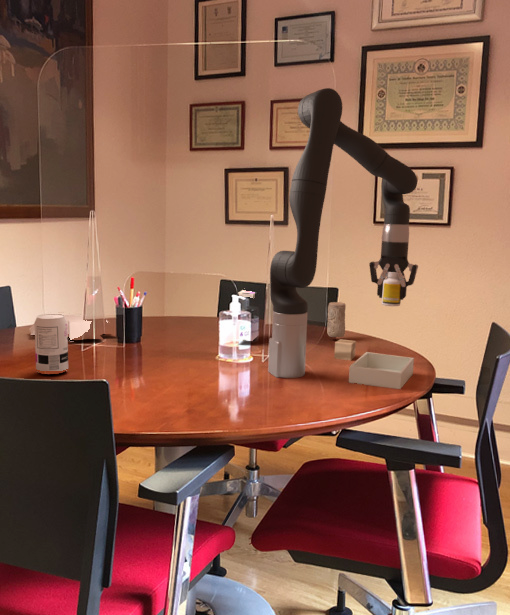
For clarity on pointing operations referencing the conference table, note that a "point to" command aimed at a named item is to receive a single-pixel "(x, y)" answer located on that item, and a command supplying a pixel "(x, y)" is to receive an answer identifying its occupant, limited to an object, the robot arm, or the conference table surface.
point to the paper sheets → (72, 326)
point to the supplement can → (51, 342)
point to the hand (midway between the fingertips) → (391, 298)
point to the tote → (381, 370)
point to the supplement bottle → (391, 290)
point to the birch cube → (345, 349)
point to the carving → (336, 319)
